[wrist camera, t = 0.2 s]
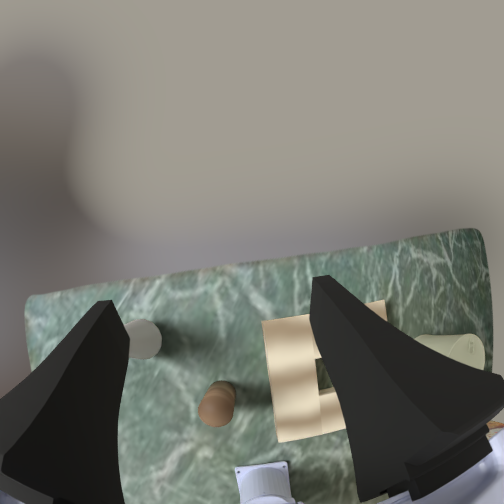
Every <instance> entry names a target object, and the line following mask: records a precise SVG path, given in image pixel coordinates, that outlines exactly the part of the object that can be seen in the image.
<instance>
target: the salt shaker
mask: <svg viewBox="0 0 504 504" xmlns="http://www.w3.org/2000/svg"><path fill="white" fill-rule="evenodd" d="M124 327H125V329H126V331H127V333H128V335H129V337H130V348H129V358H135V359H150V358H152V357H153V356H155V355H156V354H157V353H158V351H159V350H160V348H161V343H162V336H161V334H160V331H159V329H158V328H157V327H156V326H155V325H154V323H153V322H151V321H148V320H145V319H137V320H133V321H131V322H129V323H127V324H125V325H124Z"/></svg>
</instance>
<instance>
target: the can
mask: <svg viewBox="0 0 504 504" xmlns="http://www.w3.org/2000/svg"><path fill="white" fill-rule="evenodd" d="M415 340H416V341H418V342H420V343H421V344H423V345H425V346H427V347H429V348H431V349H433V350H435V351H437V352H439V353H441V354H443V355H445V356H447V357H449V358H451V359H454V360H456V361H459V362H461V363H464V364H466V365H469V366H471V367H474V368H477V369H481V370H483V369H484V364H485V351H484V346H483V344H482V342H481V340H480V339H479V338H478V337H477V336H476V335H474V334H465V335H428V334H424V335H420V336H418V337H416V338H415Z"/></svg>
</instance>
